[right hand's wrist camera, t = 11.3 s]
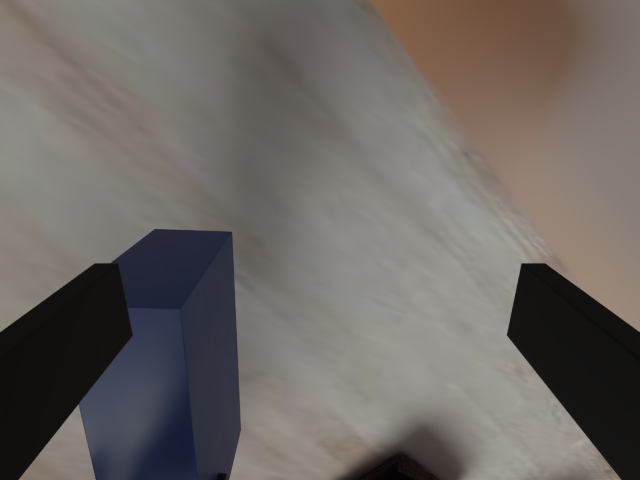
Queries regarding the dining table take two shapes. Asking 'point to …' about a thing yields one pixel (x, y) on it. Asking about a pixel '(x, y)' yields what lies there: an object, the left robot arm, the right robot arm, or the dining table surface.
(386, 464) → the dark brown irregular piece
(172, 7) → the dining table surface
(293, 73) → the dining table surface
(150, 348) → the box
